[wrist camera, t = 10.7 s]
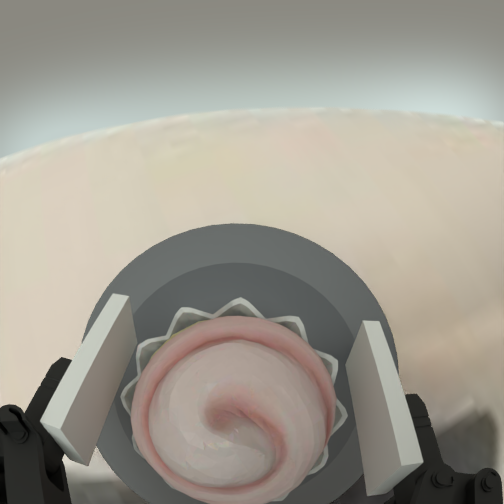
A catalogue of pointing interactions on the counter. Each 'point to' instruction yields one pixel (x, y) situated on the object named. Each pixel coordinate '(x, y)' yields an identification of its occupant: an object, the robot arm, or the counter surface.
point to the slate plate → (269, 305)
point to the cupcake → (233, 405)
